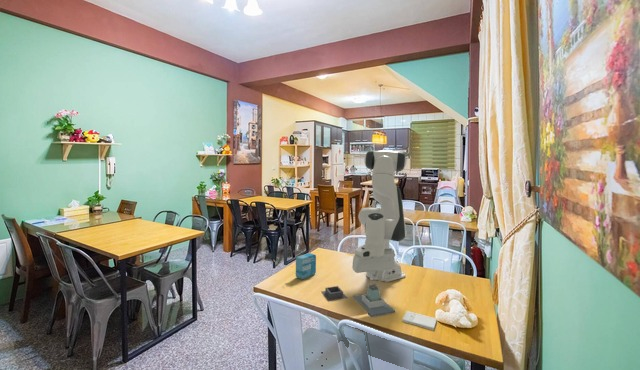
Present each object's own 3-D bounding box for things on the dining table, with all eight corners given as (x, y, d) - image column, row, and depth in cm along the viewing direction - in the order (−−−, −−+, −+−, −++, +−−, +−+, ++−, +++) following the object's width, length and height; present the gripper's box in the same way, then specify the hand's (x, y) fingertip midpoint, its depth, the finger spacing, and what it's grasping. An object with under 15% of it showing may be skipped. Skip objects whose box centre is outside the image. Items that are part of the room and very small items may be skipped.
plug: (374, 300, 136) (375, 283, 136) (379, 304, 133) (379, 287, 132) (367, 301, 135) (367, 284, 134) (371, 305, 131) (371, 288, 131)
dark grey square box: (339, 290, 148) (339, 284, 148) (347, 299, 139) (347, 292, 138) (320, 293, 145) (321, 286, 144) (328, 303, 135) (328, 295, 135)
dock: (374, 294, 144) (374, 287, 144) (395, 312, 127) (395, 305, 127) (352, 297, 140) (352, 291, 140) (370, 317, 124) (371, 309, 123)
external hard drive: (433, 331, 115) (402, 322, 121) (436, 321, 122) (406, 313, 128) (434, 328, 115) (402, 318, 121) (437, 318, 122) (406, 310, 128)
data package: (301, 280, 160) (301, 259, 159) (295, 278, 163) (295, 257, 162) (315, 274, 169) (316, 253, 168) (310, 271, 172) (310, 252, 171)
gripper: (390, 246, 138) (389, 274, 139) (351, 249, 131) (350, 279, 132) (398, 249, 132) (397, 279, 133) (357, 253, 125) (356, 285, 126)
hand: (373, 279), depth 133 cm, fingers closed
